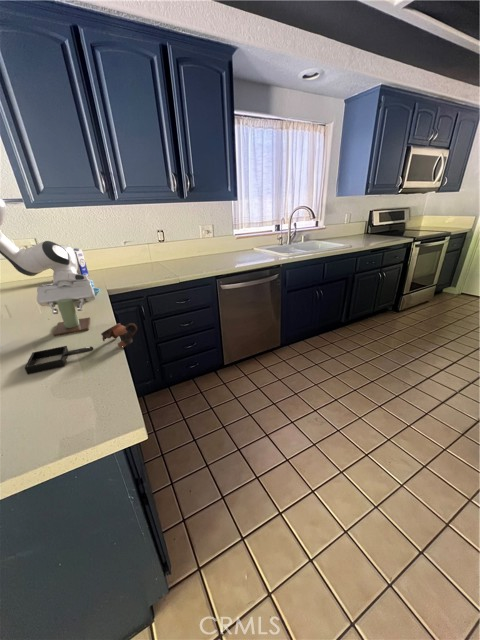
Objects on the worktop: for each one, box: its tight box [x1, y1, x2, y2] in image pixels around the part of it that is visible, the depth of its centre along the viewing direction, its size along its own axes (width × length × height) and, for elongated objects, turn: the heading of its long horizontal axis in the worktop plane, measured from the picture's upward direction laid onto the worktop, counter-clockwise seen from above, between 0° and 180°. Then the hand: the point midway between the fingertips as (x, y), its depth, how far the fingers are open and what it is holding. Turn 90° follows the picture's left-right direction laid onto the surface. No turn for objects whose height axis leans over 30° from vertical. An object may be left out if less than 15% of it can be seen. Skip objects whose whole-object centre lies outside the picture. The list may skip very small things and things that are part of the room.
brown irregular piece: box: [100, 322, 138, 349], centre depth 96 cm, size 12×10×8 cm
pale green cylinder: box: [57, 298, 80, 328], centre depth 106 cm, size 5×5×11 cm
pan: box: [24, 345, 95, 375], centre depth 86 cm, size 18×10×3 cm, turn 114°
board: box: [52, 317, 91, 337], centre depth 109 cm, size 12×12×1 cm
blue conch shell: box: [89, 278, 101, 297], centre depth 143 cm, size 18×10×9 cm, turn 28°
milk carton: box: [71, 247, 90, 277], centre depth 180 cm, size 7×7×20 cm
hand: (67, 311), depth 105 cm, fingers open, 7 cm apart
